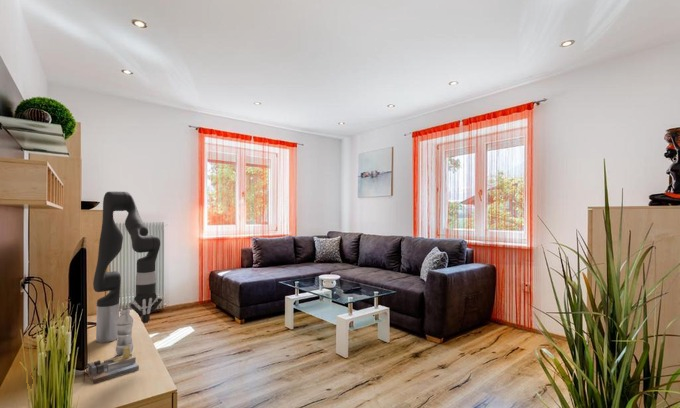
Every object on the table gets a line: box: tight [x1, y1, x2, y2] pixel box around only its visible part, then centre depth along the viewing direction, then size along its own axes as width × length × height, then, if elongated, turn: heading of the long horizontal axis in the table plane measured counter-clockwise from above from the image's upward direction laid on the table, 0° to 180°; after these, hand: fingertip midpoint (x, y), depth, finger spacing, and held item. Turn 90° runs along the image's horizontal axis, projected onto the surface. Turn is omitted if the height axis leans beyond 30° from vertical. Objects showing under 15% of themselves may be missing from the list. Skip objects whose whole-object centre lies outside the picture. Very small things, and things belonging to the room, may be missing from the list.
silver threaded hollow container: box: [115, 307, 134, 356], centre depth 150 cm, size 6×7×20 cm
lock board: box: [85, 352, 140, 384], centre depth 135 cm, size 14×15×4 cm
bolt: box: [112, 346, 131, 363], centre depth 138 cm, size 3×6×6 cm, turn 138°
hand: (145, 322), depth 144 cm, fingers closed
